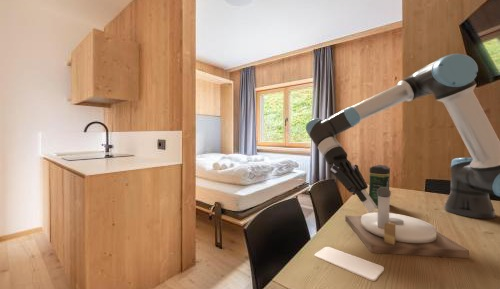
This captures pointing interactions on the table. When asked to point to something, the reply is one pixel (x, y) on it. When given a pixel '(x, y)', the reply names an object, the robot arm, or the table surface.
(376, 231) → the dial
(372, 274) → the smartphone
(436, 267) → the table surface
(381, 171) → the coffee jar
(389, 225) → the stand
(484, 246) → the table surface
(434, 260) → the table surface
